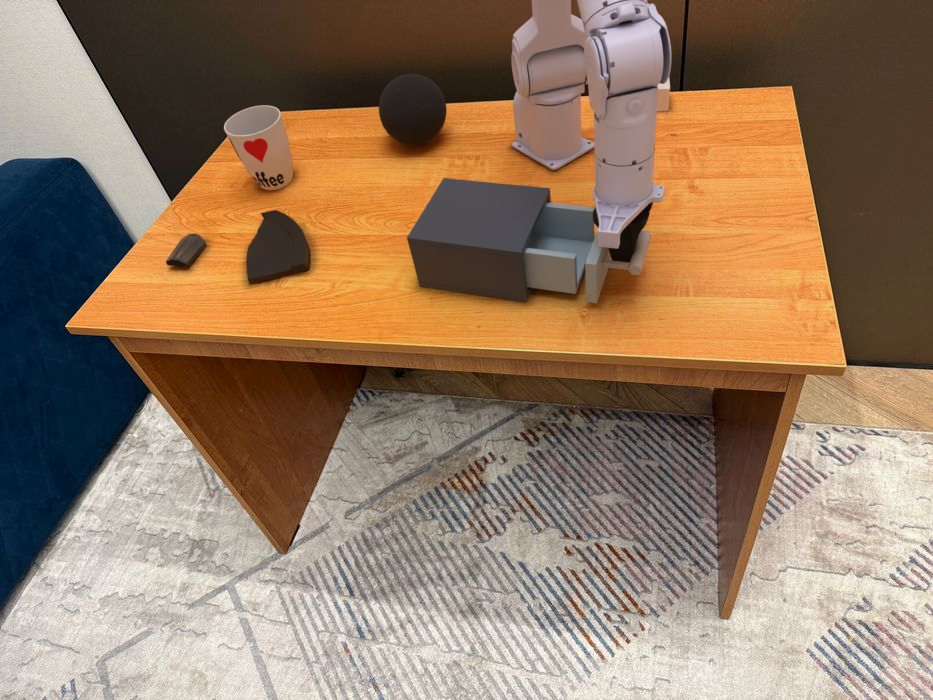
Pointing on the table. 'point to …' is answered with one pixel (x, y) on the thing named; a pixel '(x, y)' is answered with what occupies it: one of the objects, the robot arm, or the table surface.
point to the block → (186, 251)
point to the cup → (262, 145)
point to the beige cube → (663, 96)
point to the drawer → (573, 252)
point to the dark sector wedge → (277, 248)
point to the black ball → (412, 109)
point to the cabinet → (477, 237)
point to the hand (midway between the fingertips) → (622, 258)
